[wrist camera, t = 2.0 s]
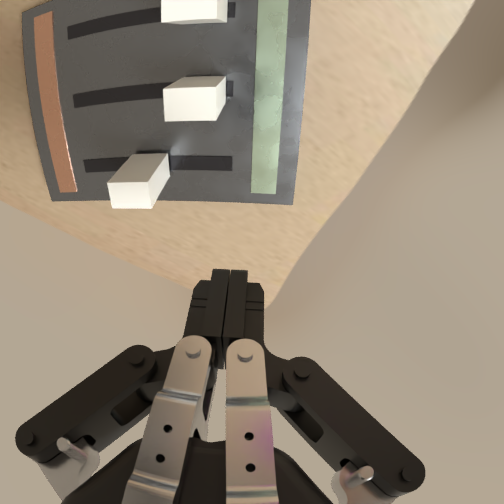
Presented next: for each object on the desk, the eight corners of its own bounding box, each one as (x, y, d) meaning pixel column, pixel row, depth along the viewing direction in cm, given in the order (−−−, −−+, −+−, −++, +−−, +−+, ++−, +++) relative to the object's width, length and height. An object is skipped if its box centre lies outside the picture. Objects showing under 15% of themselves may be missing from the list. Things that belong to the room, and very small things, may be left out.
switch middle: (183, 77, 19) (162, 88, 16) (226, 76, 19) (215, 87, 16) (184, 103, 21) (164, 121, 17) (225, 102, 21) (215, 120, 17)
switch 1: (132, 154, 23) (107, 182, 19) (167, 153, 23) (147, 182, 19) (135, 176, 24) (112, 208, 21) (169, 176, 24) (151, 208, 21)
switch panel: (35, 11, 16) (21, 12, 14) (308, -24, 16) (312, -29, 14) (61, 191, 28) (51, 201, 26) (290, 193, 28) (292, 205, 26)
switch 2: (183, -2, 16) (161, -10, 12) (227, -4, 16) (217, -15, 12) (182, 24, 17) (161, 22, 13) (227, 22, 17) (216, 18, 13)
